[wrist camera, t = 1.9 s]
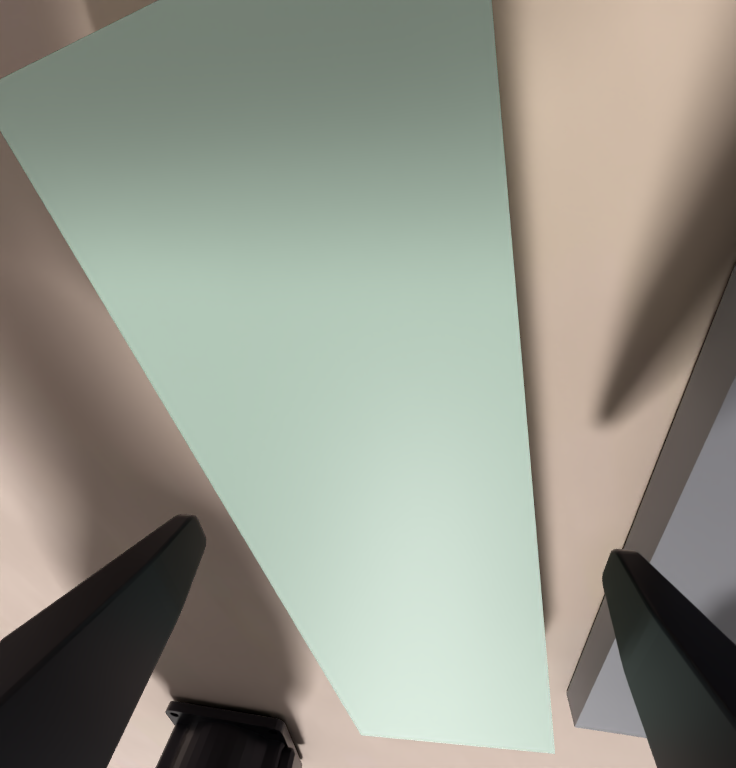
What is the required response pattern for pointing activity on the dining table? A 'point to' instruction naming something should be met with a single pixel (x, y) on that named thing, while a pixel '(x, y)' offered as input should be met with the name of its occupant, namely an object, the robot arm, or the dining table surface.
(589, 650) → the peg stand
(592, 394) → the dining table surface
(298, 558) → the plank
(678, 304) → the dining table surface
